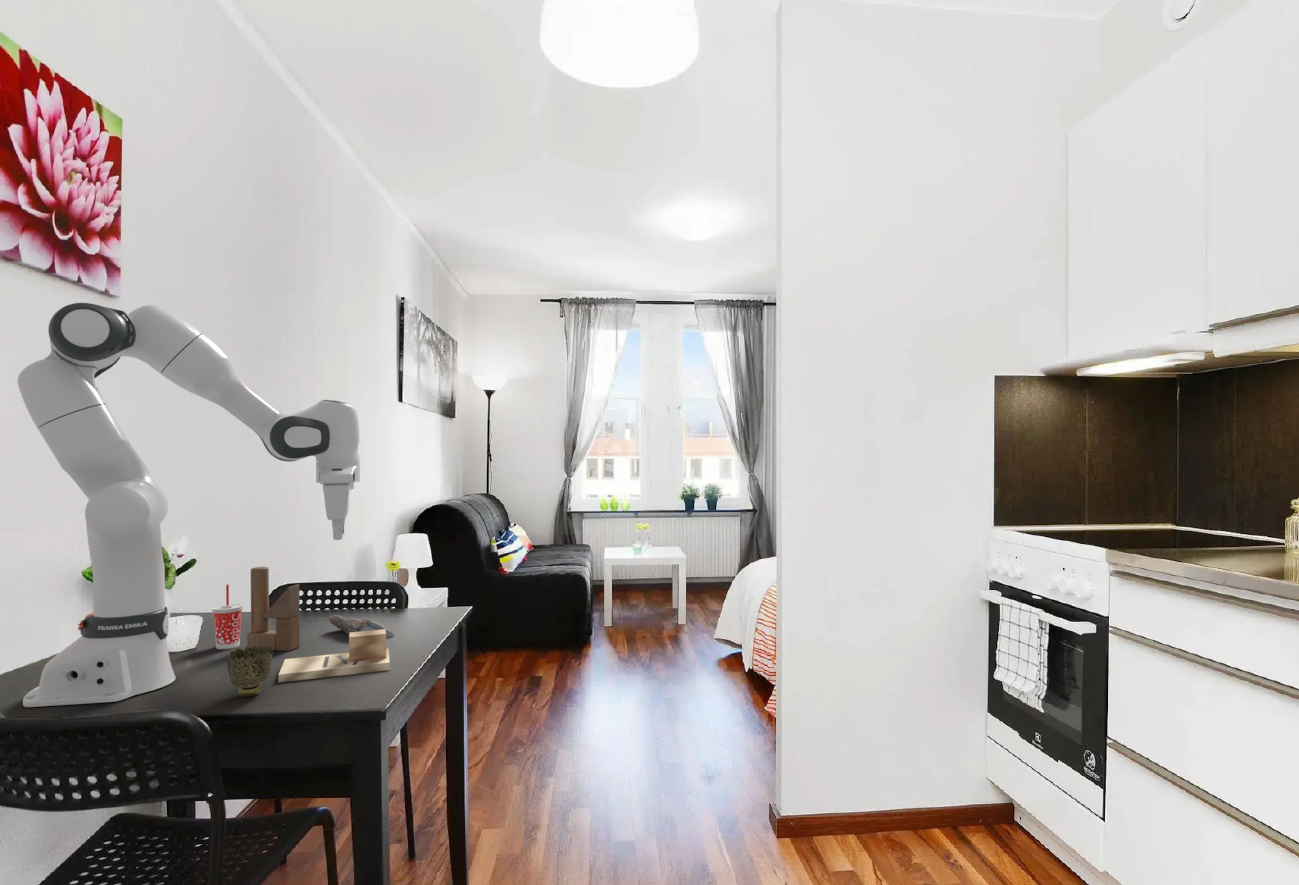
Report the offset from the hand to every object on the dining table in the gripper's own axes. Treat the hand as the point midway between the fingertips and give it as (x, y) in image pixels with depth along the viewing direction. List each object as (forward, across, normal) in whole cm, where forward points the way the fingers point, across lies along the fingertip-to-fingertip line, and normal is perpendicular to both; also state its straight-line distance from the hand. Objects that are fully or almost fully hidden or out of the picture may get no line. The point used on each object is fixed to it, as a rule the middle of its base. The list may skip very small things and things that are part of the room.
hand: (338, 537), depth 159 cm
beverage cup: (+25, -15, -24) cm, 38 cm away
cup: (+25, +24, -14) cm, 38 cm away
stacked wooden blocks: (+25, -9, -14) cm, 30 cm away
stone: (+26, -15, +4) cm, 30 cm away
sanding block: (+24, +13, +6) cm, 28 cm away
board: (+25, +13, 0) cm, 28 cm away
